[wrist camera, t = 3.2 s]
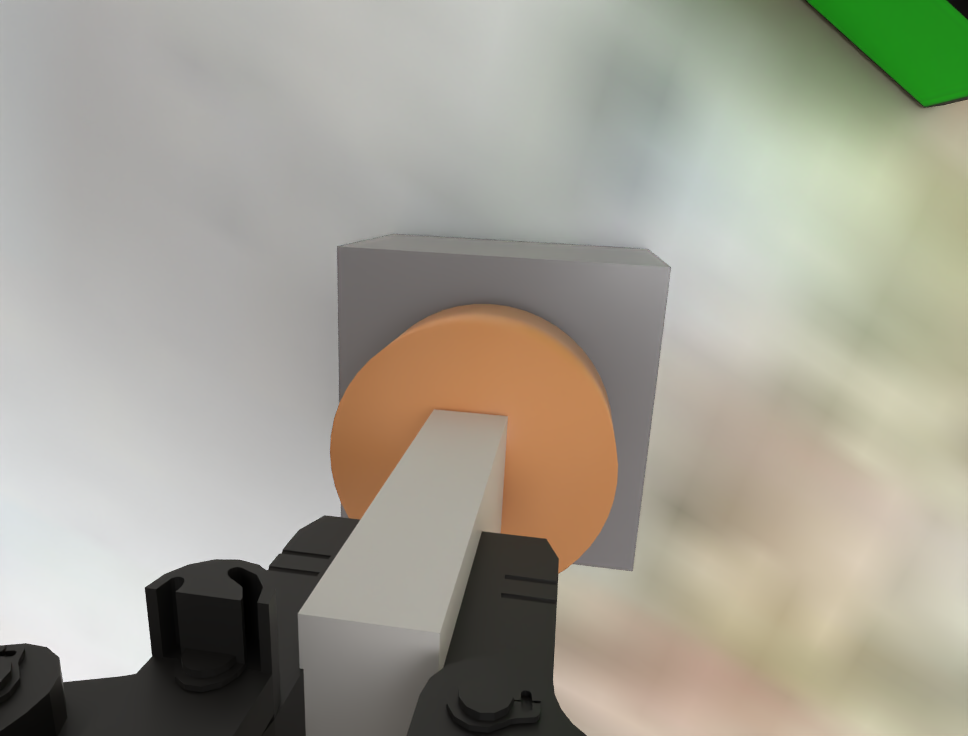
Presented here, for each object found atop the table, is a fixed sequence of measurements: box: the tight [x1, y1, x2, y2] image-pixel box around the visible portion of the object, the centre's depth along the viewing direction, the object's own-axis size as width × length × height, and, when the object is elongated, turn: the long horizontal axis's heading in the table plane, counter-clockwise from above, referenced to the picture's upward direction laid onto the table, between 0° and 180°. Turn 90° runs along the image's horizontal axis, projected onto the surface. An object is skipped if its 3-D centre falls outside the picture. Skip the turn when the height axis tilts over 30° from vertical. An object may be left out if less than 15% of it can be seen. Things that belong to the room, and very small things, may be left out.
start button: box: [330, 304, 618, 574], centre depth 16 cm, size 6×6×7 cm
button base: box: [337, 234, 671, 571], centre depth 19 cm, size 8×8×5 cm
